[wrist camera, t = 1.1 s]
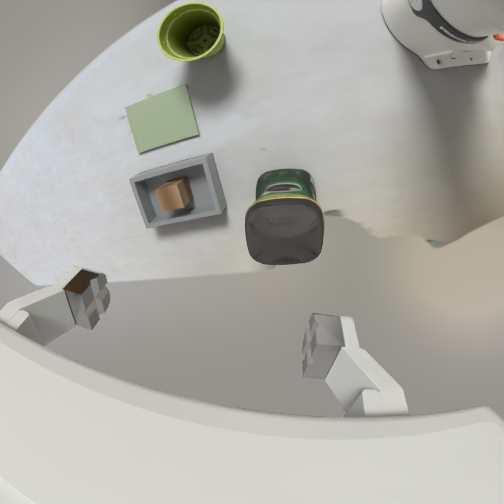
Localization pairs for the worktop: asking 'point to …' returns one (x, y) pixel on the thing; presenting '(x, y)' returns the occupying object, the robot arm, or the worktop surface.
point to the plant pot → (191, 32)
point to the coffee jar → (284, 219)
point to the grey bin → (201, 183)
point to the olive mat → (162, 119)
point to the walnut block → (174, 194)
